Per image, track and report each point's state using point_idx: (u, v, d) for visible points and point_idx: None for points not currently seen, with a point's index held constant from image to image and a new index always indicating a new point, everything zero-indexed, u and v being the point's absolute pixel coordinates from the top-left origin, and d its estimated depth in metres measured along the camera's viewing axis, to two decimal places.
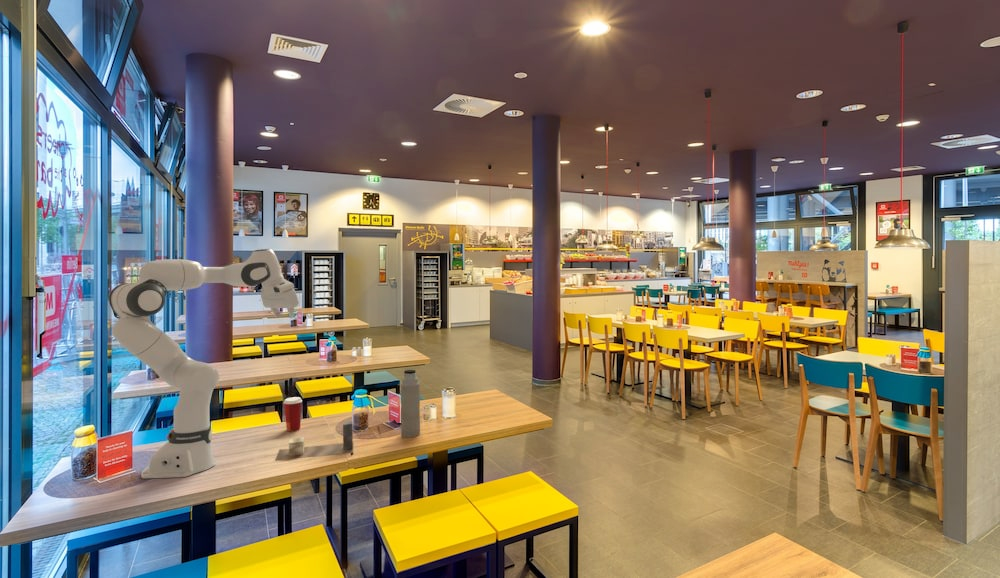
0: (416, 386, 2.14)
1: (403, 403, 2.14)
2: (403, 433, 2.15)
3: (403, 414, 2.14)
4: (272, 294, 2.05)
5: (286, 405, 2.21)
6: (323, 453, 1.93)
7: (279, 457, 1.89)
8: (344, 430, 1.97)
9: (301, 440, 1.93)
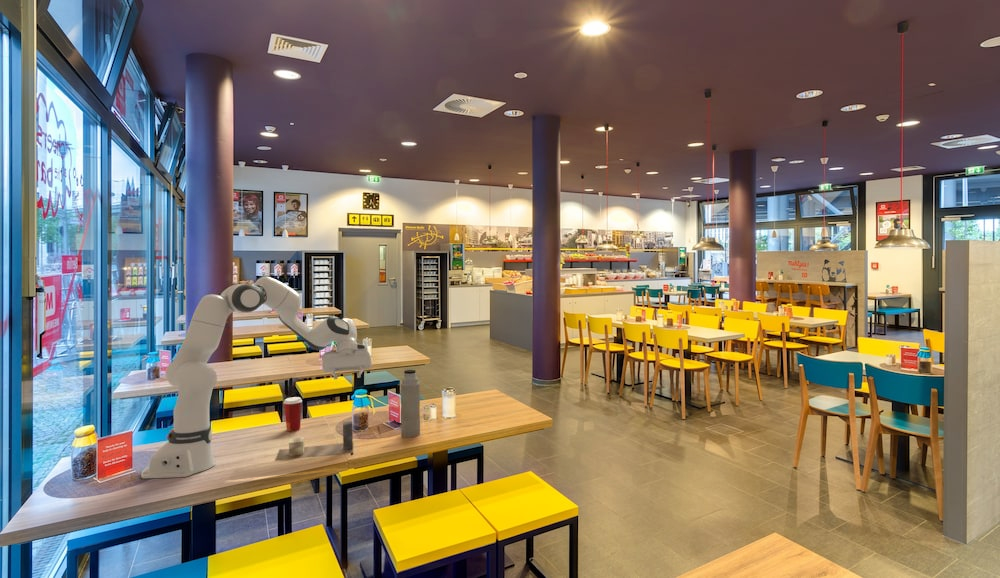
0: (416, 386, 2.14)
1: (403, 403, 2.14)
2: (403, 433, 2.15)
3: (403, 414, 2.14)
4: (349, 352, 2.16)
5: (286, 405, 2.21)
6: (323, 453, 1.93)
7: (279, 457, 1.89)
8: (344, 430, 1.97)
9: (301, 440, 1.93)
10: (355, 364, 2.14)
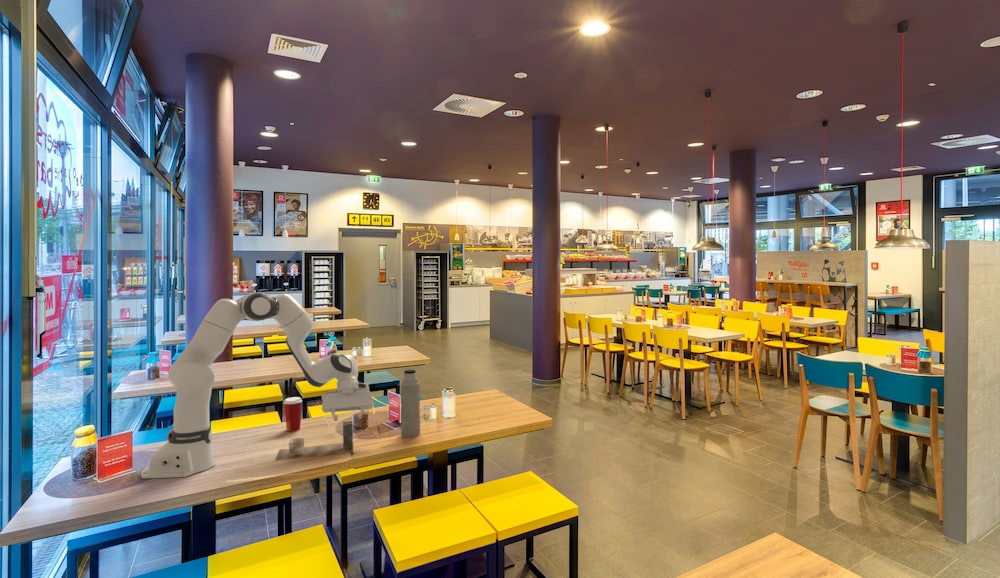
0: (416, 386, 2.14)
1: (403, 403, 2.14)
2: (403, 433, 2.15)
3: (403, 414, 2.14)
4: (350, 391, 2.09)
5: (286, 405, 2.21)
6: (323, 453, 1.93)
7: (279, 457, 1.89)
8: (344, 430, 1.97)
9: (301, 440, 1.93)
10: (356, 404, 2.07)
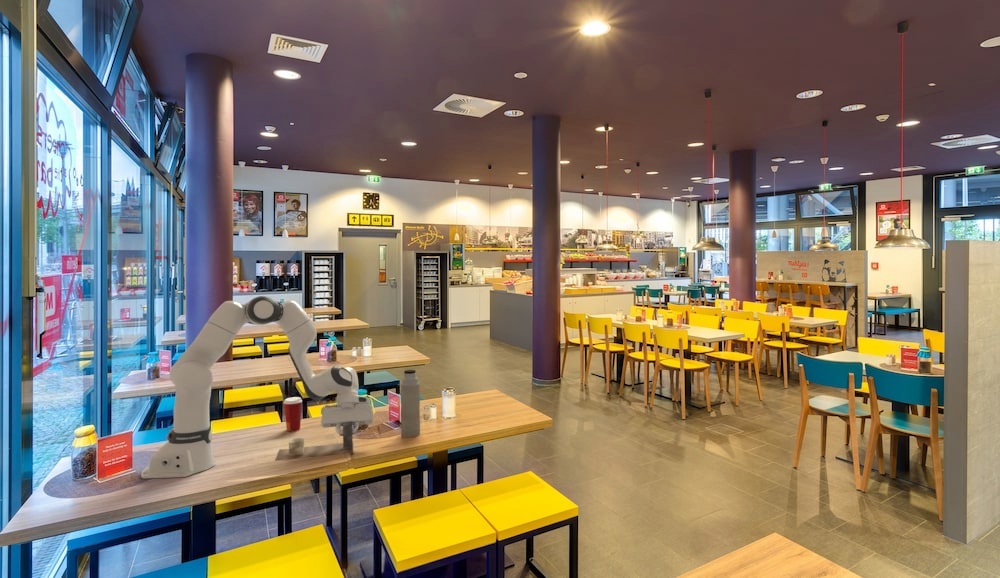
0: (416, 386, 2.14)
1: (403, 403, 2.14)
2: (403, 433, 2.15)
3: (403, 414, 2.14)
4: (350, 405, 2.04)
5: (286, 405, 2.21)
6: (323, 453, 1.93)
7: (279, 457, 1.89)
8: (344, 430, 1.96)
9: (301, 440, 1.93)
10: (356, 419, 2.01)
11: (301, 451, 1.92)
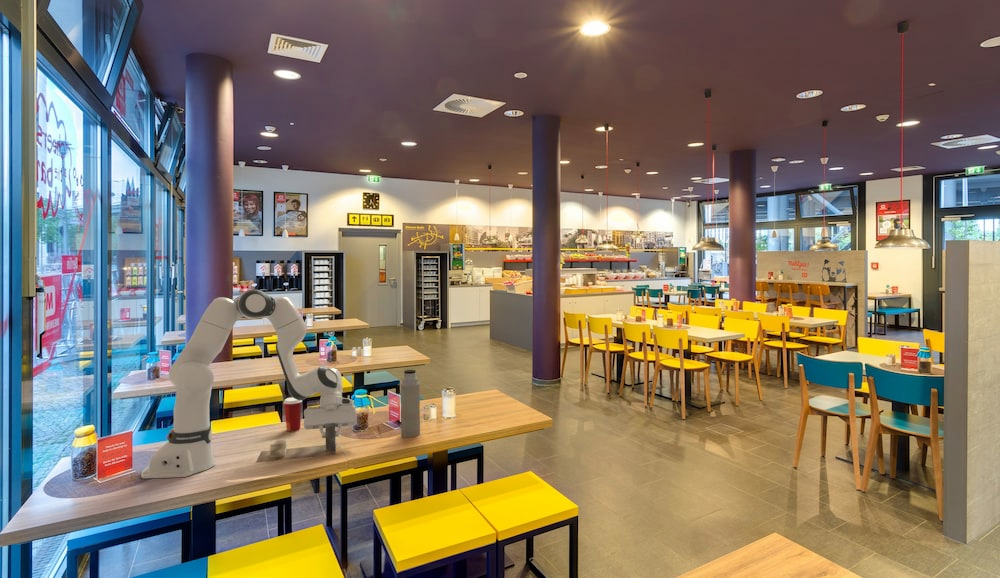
0: (416, 386, 2.14)
1: (403, 403, 2.14)
2: (403, 433, 2.15)
3: (403, 414, 2.14)
4: (334, 407, 2.02)
5: (286, 405, 2.21)
6: (305, 454, 1.91)
7: (260, 459, 1.87)
8: (326, 432, 1.95)
9: (283, 442, 1.91)
10: (339, 421, 1.99)
11: (283, 453, 1.90)
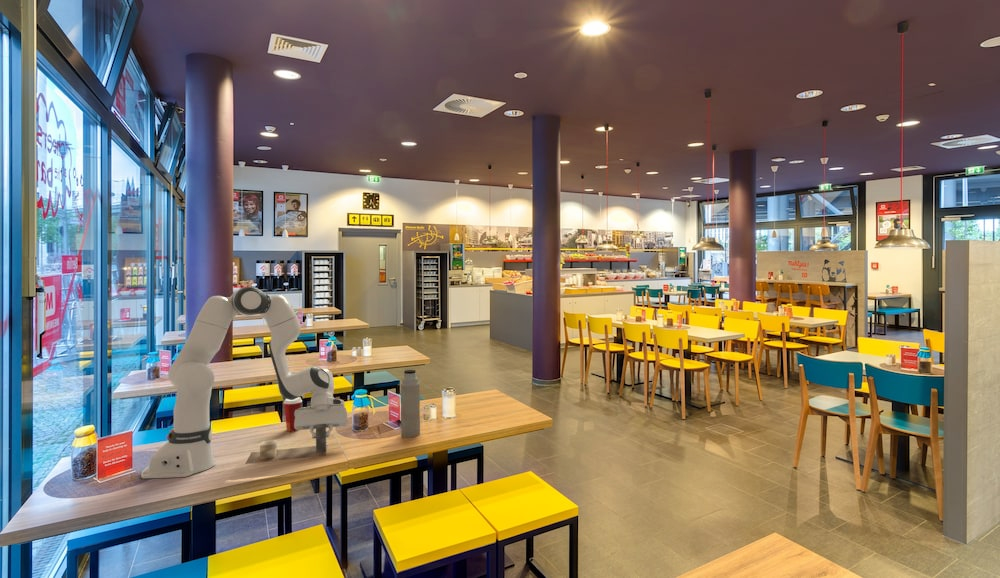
0: (416, 386, 2.14)
1: (403, 403, 2.14)
2: (403, 433, 2.15)
3: (403, 414, 2.14)
4: (324, 407, 2.01)
5: (286, 405, 2.21)
6: (295, 455, 1.90)
7: (249, 460, 1.86)
8: (317, 432, 1.94)
9: (273, 443, 1.90)
10: (330, 421, 1.98)
11: (273, 454, 1.89)
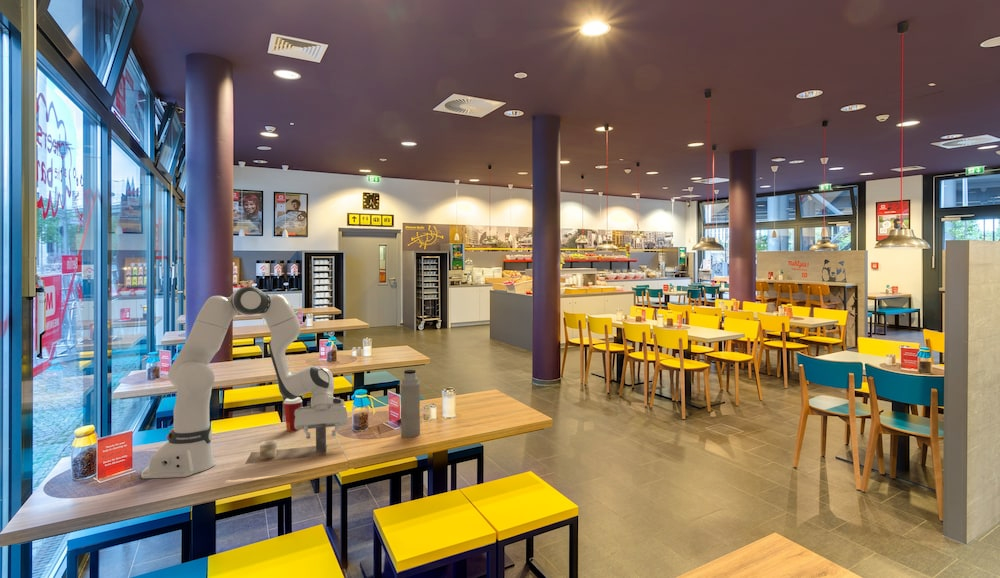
0: (416, 386, 2.14)
1: (403, 403, 2.14)
2: (403, 433, 2.15)
3: (403, 414, 2.14)
4: (324, 407, 2.01)
5: (286, 405, 2.21)
6: (295, 455, 1.90)
7: (249, 460, 1.86)
8: (317, 432, 1.94)
9: (273, 443, 1.90)
10: (330, 421, 1.99)
11: (273, 454, 1.89)
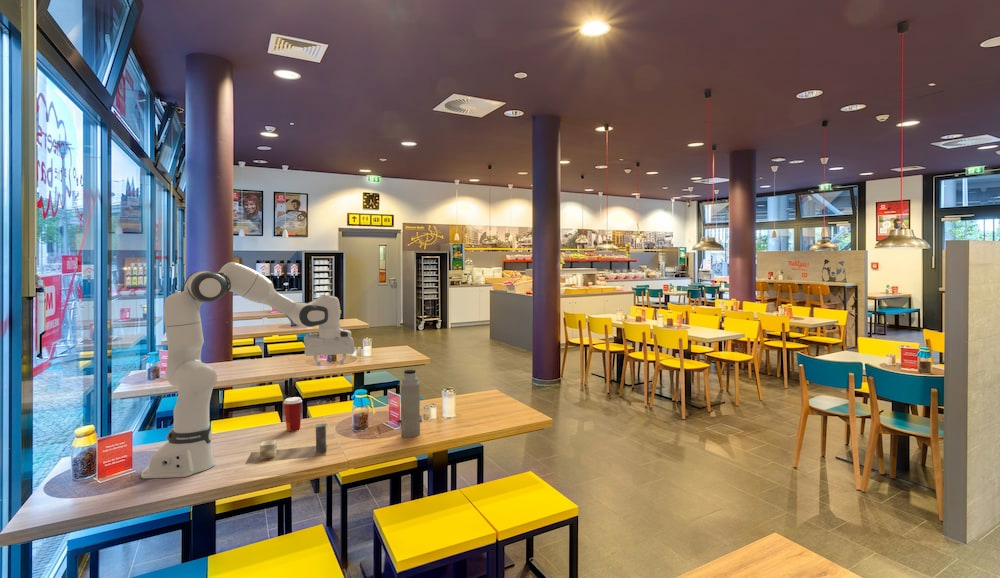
0: (416, 386, 2.14)
1: (403, 403, 2.14)
2: (403, 433, 2.15)
3: (403, 414, 2.14)
4: (332, 339, 2.10)
5: (286, 405, 2.21)
6: (295, 455, 1.90)
7: (249, 460, 1.86)
8: (317, 432, 1.94)
9: (273, 443, 1.90)
10: (338, 353, 2.12)
11: (273, 454, 1.89)
